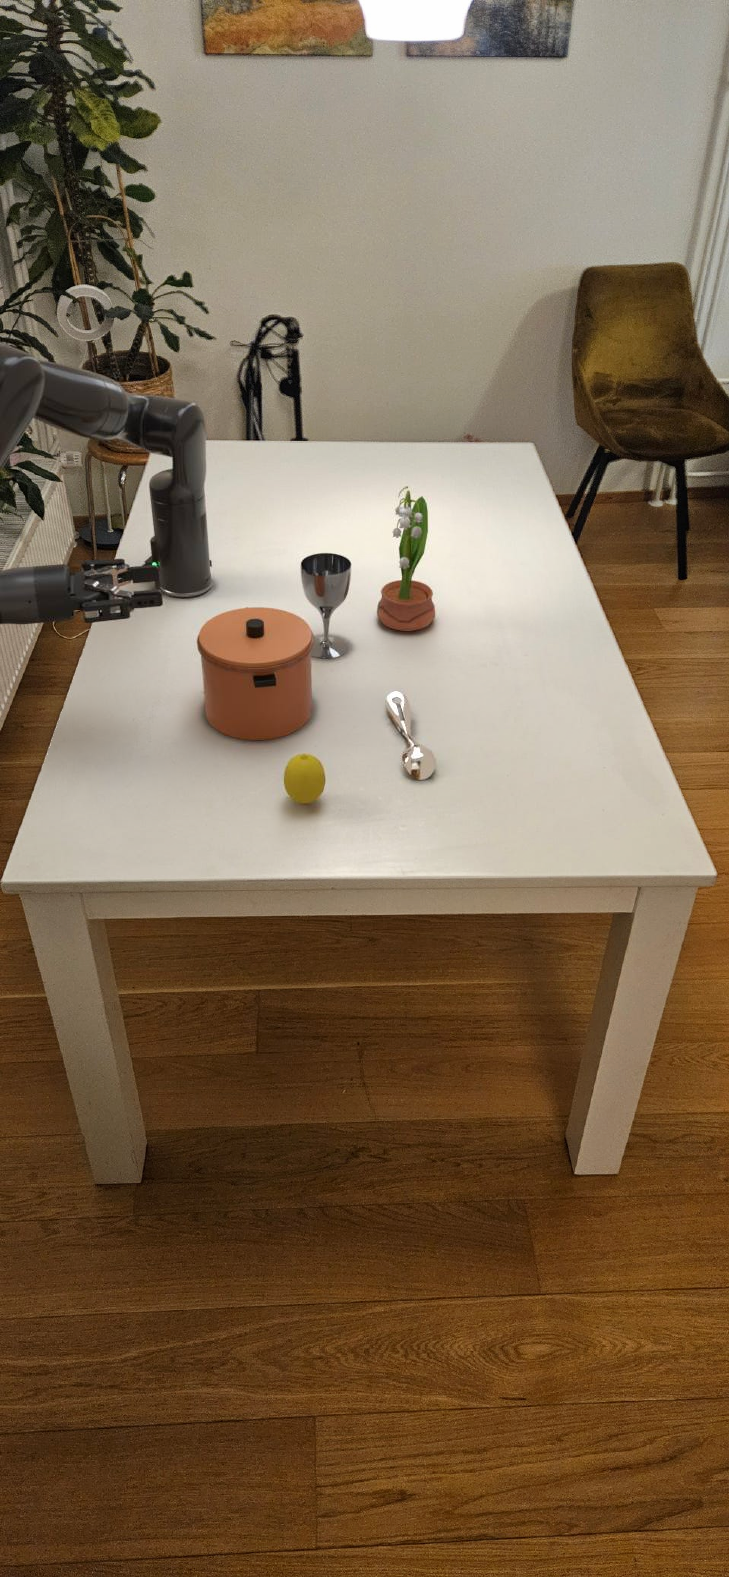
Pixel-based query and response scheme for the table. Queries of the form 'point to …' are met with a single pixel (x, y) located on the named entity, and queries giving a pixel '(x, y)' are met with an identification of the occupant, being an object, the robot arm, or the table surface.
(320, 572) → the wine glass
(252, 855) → the table surface
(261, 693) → the copper pot
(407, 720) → the silver elongated piece
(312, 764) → the lemon
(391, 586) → the potted flower
